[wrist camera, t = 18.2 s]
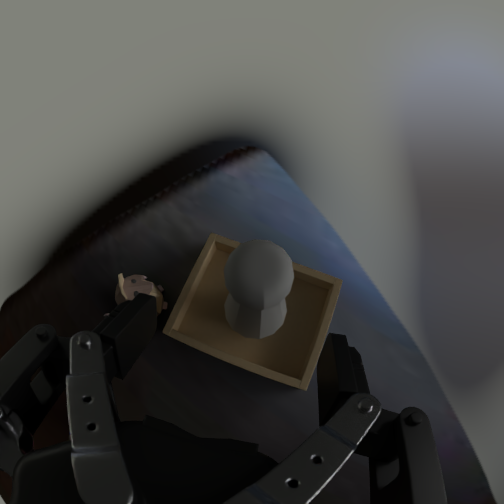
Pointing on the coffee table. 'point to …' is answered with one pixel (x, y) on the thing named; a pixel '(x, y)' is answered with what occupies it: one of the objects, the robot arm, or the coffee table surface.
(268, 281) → the salt shaker
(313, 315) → the tray
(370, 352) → the coffee table surface
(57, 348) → the robot arm
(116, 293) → the mouse figurine
